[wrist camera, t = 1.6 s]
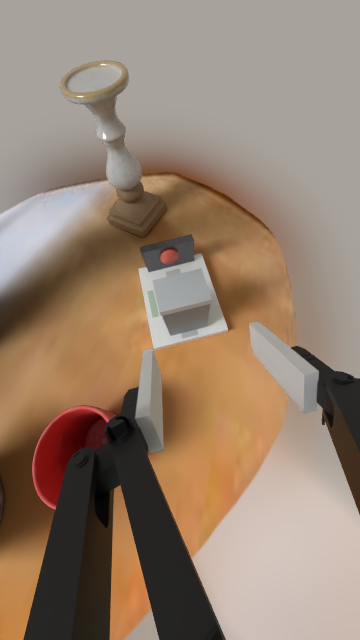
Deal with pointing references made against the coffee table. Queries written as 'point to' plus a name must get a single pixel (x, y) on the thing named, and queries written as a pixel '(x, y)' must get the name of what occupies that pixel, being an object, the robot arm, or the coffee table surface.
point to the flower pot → (66, 447)
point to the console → (169, 262)
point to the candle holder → (114, 143)
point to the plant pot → (1, 501)
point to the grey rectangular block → (183, 301)
